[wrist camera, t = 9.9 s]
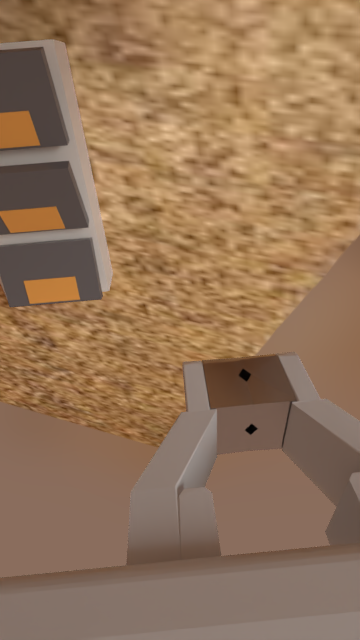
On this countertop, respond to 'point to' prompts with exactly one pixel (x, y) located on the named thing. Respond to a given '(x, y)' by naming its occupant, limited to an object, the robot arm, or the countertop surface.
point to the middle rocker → (40, 198)
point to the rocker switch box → (71, 153)
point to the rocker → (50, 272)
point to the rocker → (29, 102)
